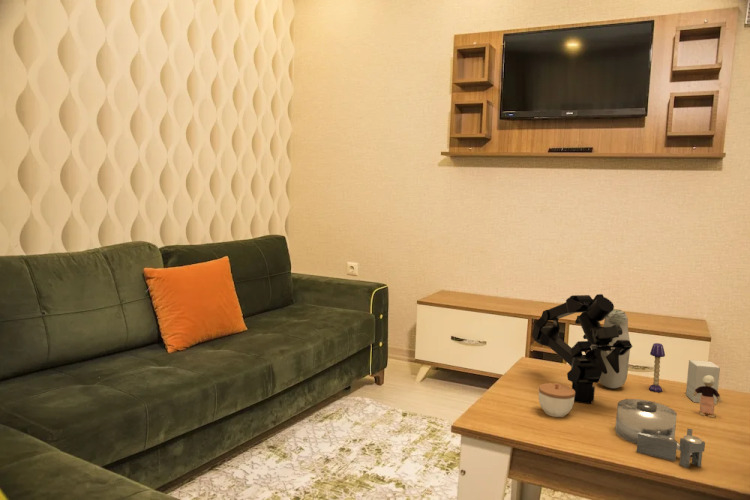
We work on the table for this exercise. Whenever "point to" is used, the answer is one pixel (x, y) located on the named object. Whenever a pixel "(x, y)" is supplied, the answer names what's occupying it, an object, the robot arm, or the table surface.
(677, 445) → the dial plunger
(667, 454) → the centering jig
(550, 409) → the lidded jar
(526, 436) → the table surface
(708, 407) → the grandmother figurine
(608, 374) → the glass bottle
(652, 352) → the toy lamp
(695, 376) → the supplement box
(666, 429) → the cover
